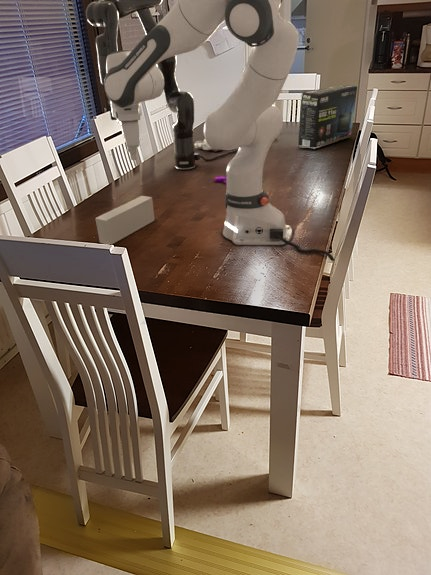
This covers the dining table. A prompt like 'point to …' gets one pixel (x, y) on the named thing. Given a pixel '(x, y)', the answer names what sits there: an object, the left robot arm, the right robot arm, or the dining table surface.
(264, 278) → the dining table surface
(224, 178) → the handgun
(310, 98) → the router box
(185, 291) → the dining table surface
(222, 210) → the dining table surface
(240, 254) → the dining table surface
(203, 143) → the fossil
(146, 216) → the bar
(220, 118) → the right robot arm
